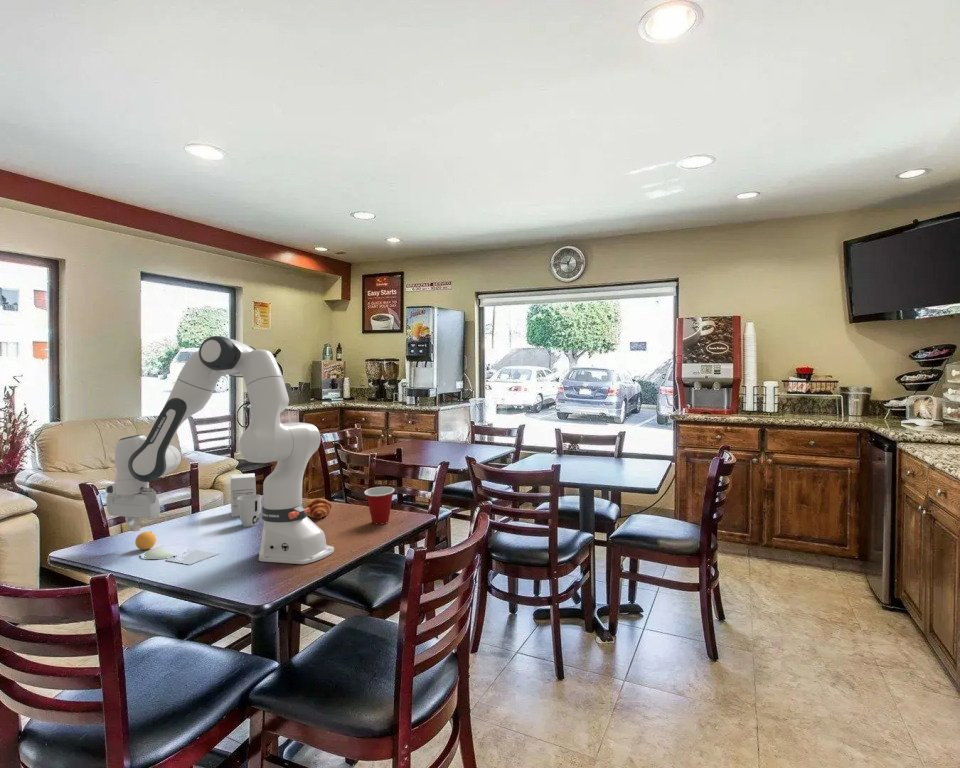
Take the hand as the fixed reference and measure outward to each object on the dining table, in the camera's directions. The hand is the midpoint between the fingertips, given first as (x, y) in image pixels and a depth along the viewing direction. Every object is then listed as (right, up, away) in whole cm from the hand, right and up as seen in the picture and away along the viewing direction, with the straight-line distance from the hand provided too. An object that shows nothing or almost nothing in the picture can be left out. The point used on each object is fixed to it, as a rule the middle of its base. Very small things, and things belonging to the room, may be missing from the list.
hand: (134, 530), depth 170 cm
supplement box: (+16, -5, +42) cm, 45 cm away
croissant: (+46, -5, +39) cm, 61 cm away
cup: (+26, -5, +25) cm, 36 cm away
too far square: (+23, -5, -10) cm, 26 cm away
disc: (+12, -5, -5) cm, 14 cm away
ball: (+5, -3, -2) cm, 6 cm away
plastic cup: (+73, -4, +26) cm, 77 cm away
